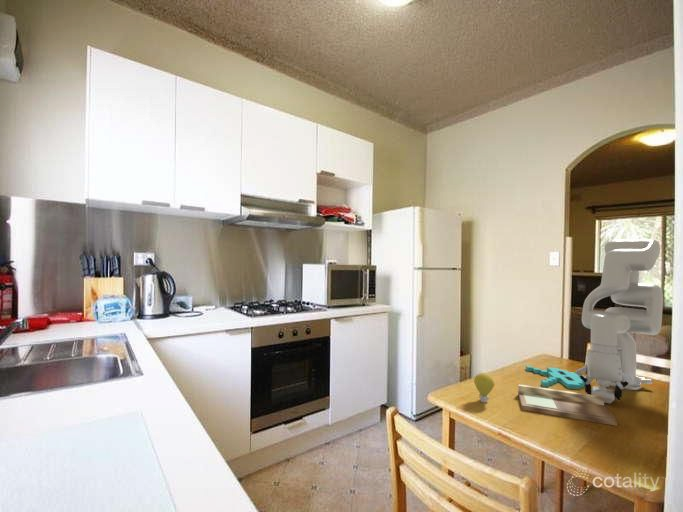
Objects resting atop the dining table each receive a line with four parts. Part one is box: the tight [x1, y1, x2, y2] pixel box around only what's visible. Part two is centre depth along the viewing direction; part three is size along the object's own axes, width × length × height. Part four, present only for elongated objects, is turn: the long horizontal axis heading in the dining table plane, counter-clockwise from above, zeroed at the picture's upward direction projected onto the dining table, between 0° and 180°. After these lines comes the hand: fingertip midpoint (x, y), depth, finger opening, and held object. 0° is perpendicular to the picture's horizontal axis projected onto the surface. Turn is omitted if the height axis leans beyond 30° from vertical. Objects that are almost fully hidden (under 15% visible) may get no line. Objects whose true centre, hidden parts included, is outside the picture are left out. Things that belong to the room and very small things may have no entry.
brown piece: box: [517, 383, 618, 427], centre depth 113 cm, size 26×13×4 cm, turn 67°
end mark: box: [523, 393, 557, 409], centre depth 116 cm, size 9×10×1 cm
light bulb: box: [473, 372, 495, 403], centre depth 119 cm, size 7×7×10 cm
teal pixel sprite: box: [525, 365, 586, 390], centre depth 140 cm, size 20×2×20 cm
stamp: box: [591, 379, 616, 405], centre depth 119 cm, size 9×7×8 cm
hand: (602, 396), depth 119 cm, fingers closed on stamp, 8 cm apart
